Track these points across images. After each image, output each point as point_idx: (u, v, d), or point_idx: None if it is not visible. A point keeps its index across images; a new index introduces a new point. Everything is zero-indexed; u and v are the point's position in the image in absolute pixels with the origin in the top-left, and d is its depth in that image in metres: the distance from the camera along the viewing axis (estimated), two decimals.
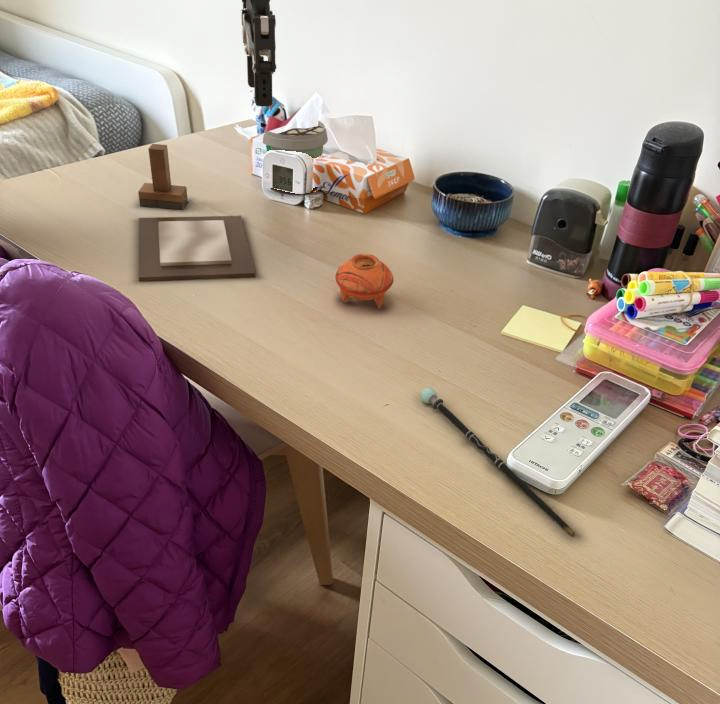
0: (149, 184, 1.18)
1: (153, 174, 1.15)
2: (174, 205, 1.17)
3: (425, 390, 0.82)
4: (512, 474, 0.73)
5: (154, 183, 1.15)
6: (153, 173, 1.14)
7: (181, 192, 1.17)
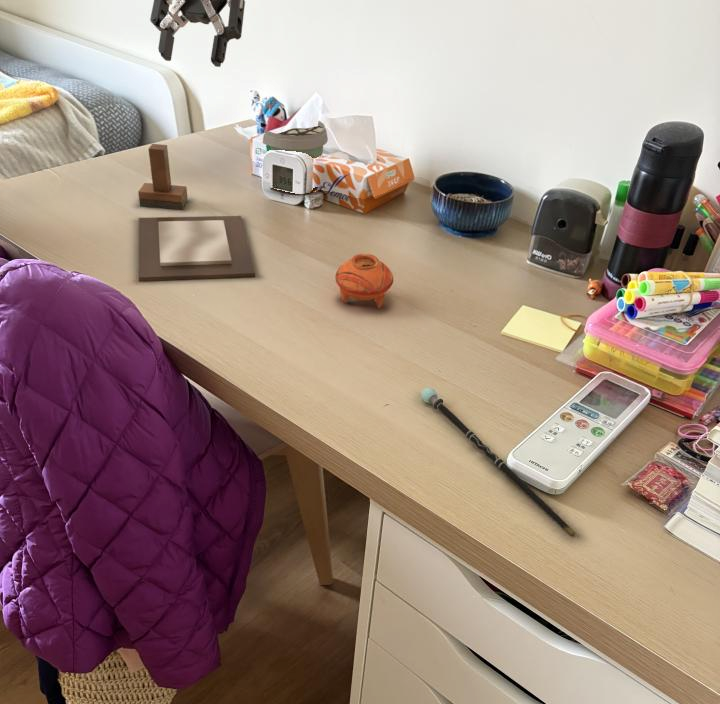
0: (149, 184, 1.18)
1: (153, 174, 1.15)
2: (174, 205, 1.17)
3: (425, 390, 0.82)
4: (512, 474, 0.73)
5: (154, 183, 1.15)
6: (153, 173, 1.14)
7: (181, 192, 1.17)
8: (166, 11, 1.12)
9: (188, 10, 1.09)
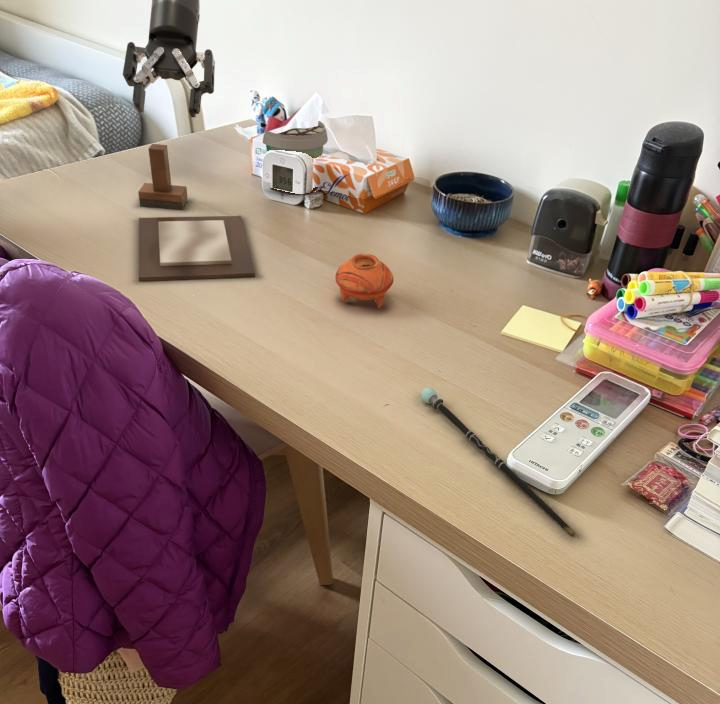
0: (149, 184, 1.18)
1: (153, 174, 1.15)
2: (174, 205, 1.17)
3: (425, 390, 0.82)
4: (512, 474, 0.73)
5: (154, 183, 1.15)
6: (153, 173, 1.14)
7: (181, 192, 1.17)
8: (135, 68, 1.17)
9: (161, 66, 1.15)
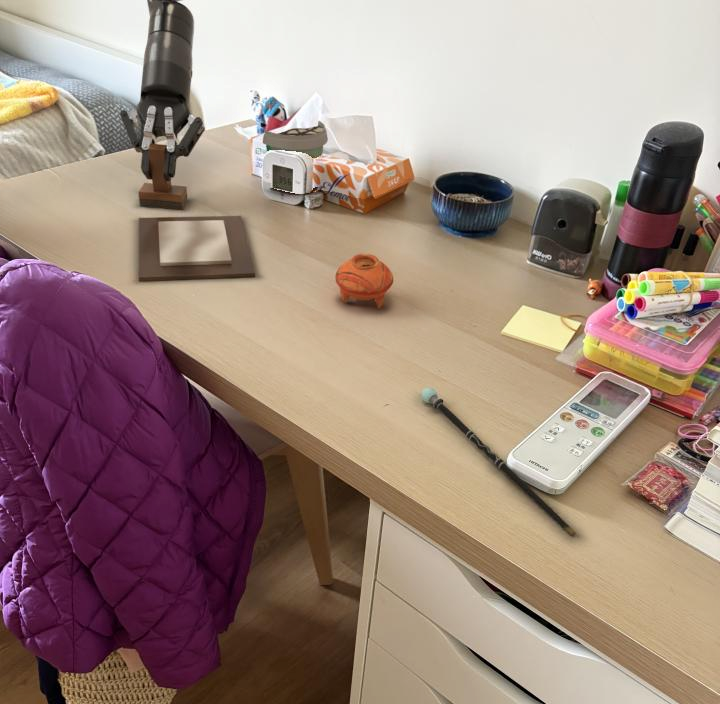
0: (149, 184, 1.18)
1: (153, 174, 1.15)
2: (174, 205, 1.17)
3: (425, 390, 0.82)
4: (512, 474, 0.73)
5: (154, 183, 1.15)
6: (153, 173, 1.14)
7: (181, 192, 1.17)
8: (136, 133, 1.15)
9: (154, 125, 1.13)
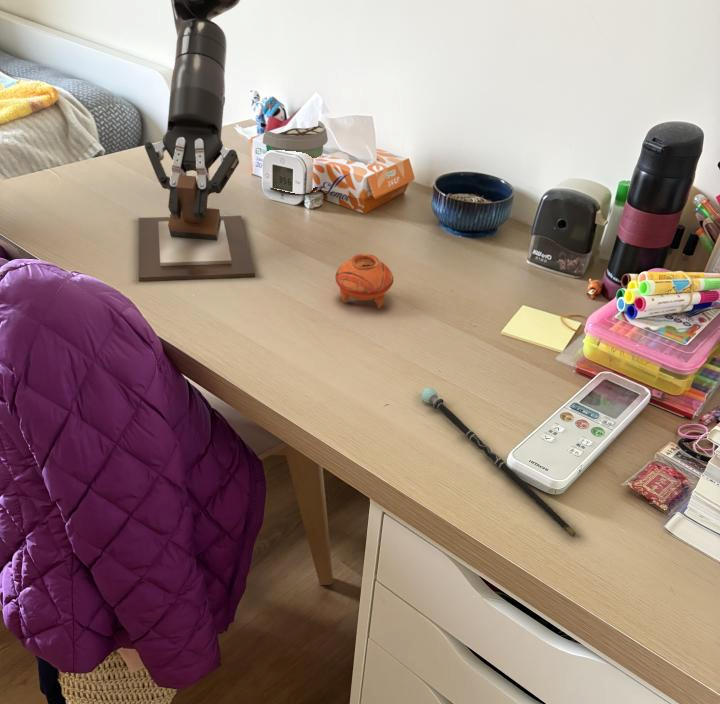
0: None
1: (183, 209, 1.03)
2: (208, 237, 1.07)
3: (426, 390, 0.82)
4: (513, 474, 0.73)
5: (185, 216, 1.04)
6: (183, 208, 1.03)
7: (215, 223, 1.05)
8: None
9: (183, 159, 1.01)
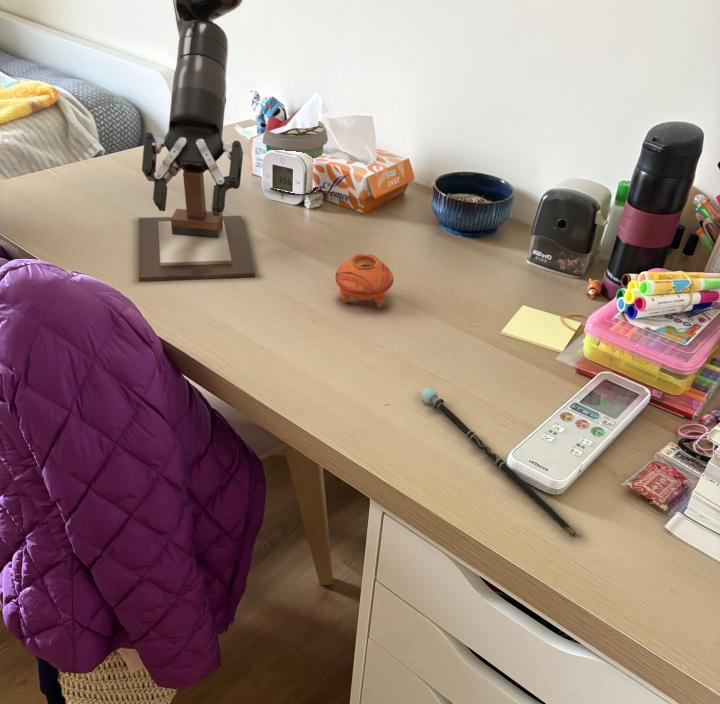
0: (182, 210, 1.08)
1: (187, 200, 1.05)
2: (209, 233, 1.07)
3: (426, 390, 0.82)
4: (513, 474, 0.73)
5: (188, 210, 1.06)
6: (187, 199, 1.05)
7: (217, 219, 1.07)
8: (155, 160, 1.03)
9: (184, 159, 1.02)
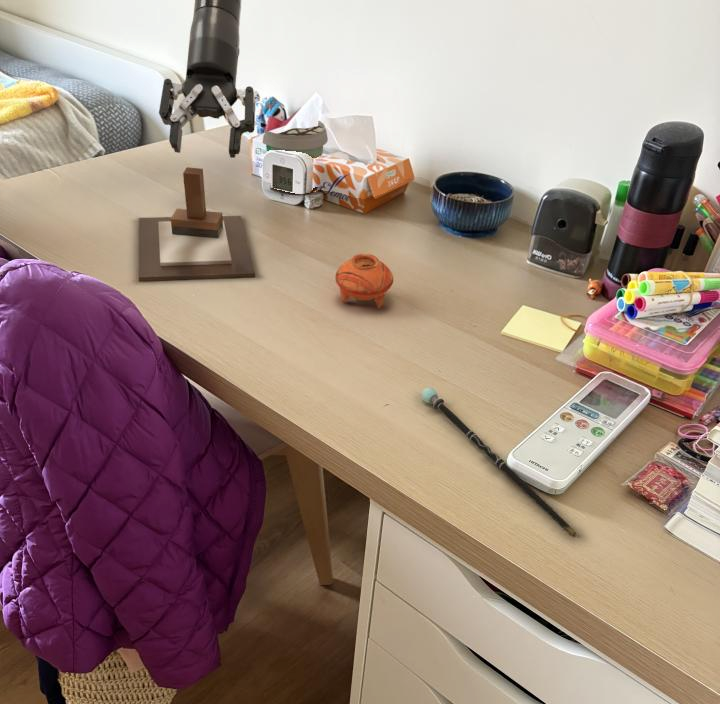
0: (182, 210, 1.08)
1: (187, 200, 1.05)
2: (209, 233, 1.07)
3: (426, 390, 0.82)
4: (513, 474, 0.73)
5: (188, 210, 1.06)
6: (187, 199, 1.05)
7: (217, 219, 1.07)
8: (172, 106, 1.11)
9: (200, 104, 1.09)
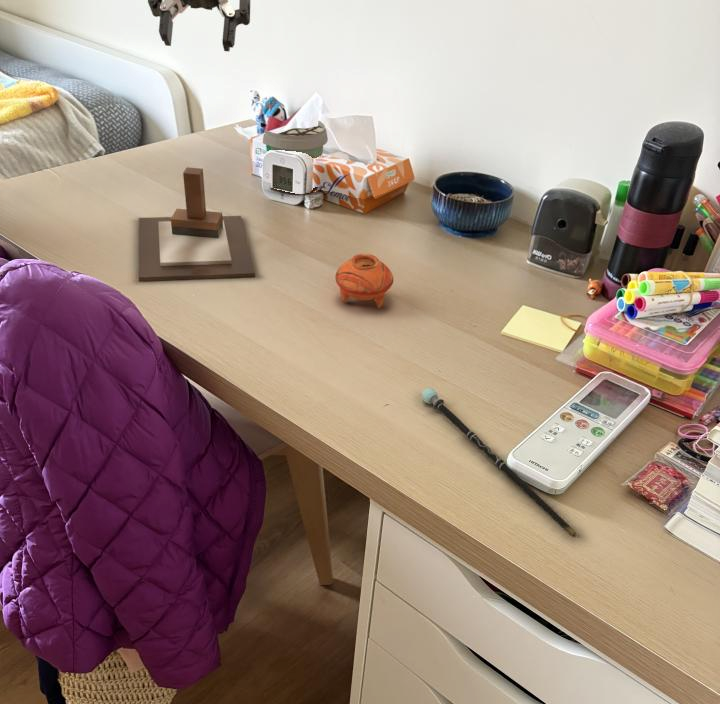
0: (182, 210, 1.08)
1: (187, 200, 1.05)
2: (209, 233, 1.07)
3: (426, 390, 0.82)
4: (513, 474, 0.73)
5: (188, 210, 1.06)
6: (187, 199, 1.05)
7: (217, 219, 1.07)
8: None
9: None
